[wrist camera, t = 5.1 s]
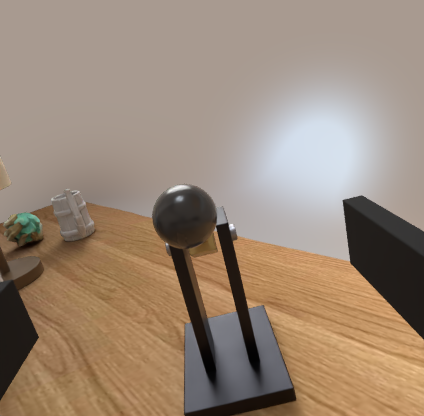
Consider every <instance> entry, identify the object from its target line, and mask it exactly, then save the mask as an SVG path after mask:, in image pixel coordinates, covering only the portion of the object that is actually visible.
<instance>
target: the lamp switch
mask: <svg viewBox="0 0 424 416" xmlns="http://www.w3.org/2000/svg"><path fill="white" fill-rule="evenodd" d="M152 215H153V216H152V219H153V225H154V228H155V230H156V232H157V234H158V235H159V237H160V238H161V239H162V240H163V241H164V242H165V243H167V244H168V245H170V246H173V247H175V248H179V249H189V252H190V255H191V256H192V257H194V258H195V257H199V256H203V255H207V254H211V253H216V252H218V251H217V246H216V242H215V238H214V234H213V231H214V229H215V227H216V223H217V210H216V206H215V204H214V202H213V200H212V199H211V197H210V196H209V195H208V194H207V193H206V192H205V191H204V190H202V189H201V188H199V187H197V186H193V185H188V184H182V185H176V186H173V187H171V188H169V189H167V190H166V191H165V192H163V193H162V194H161V195H160V197H159V198H158V199H157V201H156V203H155V205H154V208H153V214H152Z"/></svg>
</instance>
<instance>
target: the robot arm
mask: <svg viewBox="0 0 424 416" xmlns="http://www.w3.org/2000/svg"><path fill="white" fill-rule="evenodd" d="M343 206H344V215H345V223H346V231H347V239H348V247H349V255H350V263H351V264H352V265H353V266H354V267H355V268H356V269H357V270H358V271H359V273H360V274H361V275H362V276H363V277H364V278H365V279H366V280H367V281H368V282H369V283H370V284H371V285H372V286H373V287H374V288H375V289H376V290H377V291H378V292H379V293H380V294H381V295H382V296H383V298H384V299H385V300H386V301H387V302H388V303H389V304H390V305H391V306H392V307H393V308H394V309H395V310H396V311H397V312H398V313H399V314H400V315H401V316H402V317H403V318H404V319H405V320H406V321H407V323H408V324H409V325H410V326H411V327H412V328H413V329H414V330H415V331H416V332H417V333H418V334H419V335H420V336H421V337H422V338H423V339H424V232H423V231H422V230H420V229H419V228H417V227H415V226H413V225H412V224H410V223H408V222H407V221H405V220H403V219H402V218H400V217H398V216H396V215H394V214H393V213H391V212H390V211H388V210H386V209H384V208H383V207H381V206H379V205H377V204H376V203H374V202H372V201H371V200H369V199H367V198H366V197H364V196H358V197H353V198H350V199H345V200H343ZM38 338H39V336H38V334H37V332H36V330H35V328H34V325H33V323H32V321H31V319H30V317H29V314H28V312H27V310H26V308H25V306H24V303H23V301H22V299H21V297H20V295H19V292H18V290H17V288H16V286H15V284H14V281H13V279H11V280H7V281H3V282H0V400H1V398H2V397H3V395H4V394H5V392H6V390H7V389H8V387H9V385H10V384H11V382H12V380H13V379H14V377H15V376H16V374H17V372H18V371H19V369H20V367H21V366H22V364H23V362H24V361H25V359H26V358H27V356H28V354H29V353H30V351H31V349H32V348H33V346H34V344H35V343H36V341H37V339H38Z"/></svg>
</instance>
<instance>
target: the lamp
mask: <svg viewBox="0 0 424 416" xmlns="http://www.w3.org/2000/svg"><path fill="white" fill-rule="evenodd" d="M10 185H11V181H10V179H9V176H8V173H7V171H6V169H5V166H4V164H3V162H2V159H1V157H0V190H2V189H4V188H6V187H8V186H10ZM43 270H44V268H43V265H42V263H41V260H40V258H39V257H36V256H29V257H23V258H18V259H15V260H12V261H9V262H7V261H6V259H5V256H4V254H3V252H2V250H1V248H0V275H1V277H2V279H3V281H7V280H11V279H13V281H14V284H15V286H16V288H17V290H18V289H20V288H22V287H24V286H26V285H28V284H29V283H31V282H32V281H34V280H35V279H36V278H38V277H39V276H40V275H41V274H42V272H43Z"/></svg>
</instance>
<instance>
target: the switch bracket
mask: <svg viewBox="0 0 424 416" xmlns="http://www.w3.org/2000/svg"><path fill="white" fill-rule="evenodd" d="M216 210H217V223H216V228H217V232H218V236H219V241H220V245H221V249H222V253H223V257H224V261H225V265H226V269H227V273H228V277H229V282H230V286H231V290H232V294H233V298H234V302H235V306H236V310H237V311H236V312H232V313H228V314H224V315H220V316H216V317H211V318H207V315H206V311H205V308H204V304H203V300H202V297H201V293H200V289H199V286H198V282H197V278H196V275H195V271H194V268H193V264H192V260H191V257H190V253H189V249H179V248H175V247H173V246H170V245H168V244H167V243H165V245H166V250H167V253H168V255H169V256H172V259H173V262H174V266H175V269H176V273H177V276H178V279H179V283H180V286H181V290H182V293H183V297H184V300H185V303H186V307H187V310H188V314H189V317H190V320H191V323H186V324H185V366H184V415H185V416H230V415H234V414H239V413H243V412H247V411H251V410H255V409H260V408H264V407H268V406H272V405H276V404H281V403H285V402H289V401H293V400H296V396H295V391H294V387H293V384H292V382H291V379H290V376H289V373H288V371H287V368H286V365H285V362H284V360H283V357H282V354H281V351H280V349H279V346H278V343H277V340H276V338H275V335H274V332H273V329H272V327H271V324H270V321H269V319H268V316H267V313H266V310H265V308H264V305H261V306H257V307H253V308H249V309H248V306H247V301H246V297H245V293H244V288H243V284H242V280H241V275H240V271H239V267H238V262H237V258H236V254H235V250H234V245H233V241H234V240H237V234H236V230H235V226H234V224H230V225H229V224H228V220H227V217H226V214H225V211H224V208H223V207H218V208H216Z"/></svg>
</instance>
